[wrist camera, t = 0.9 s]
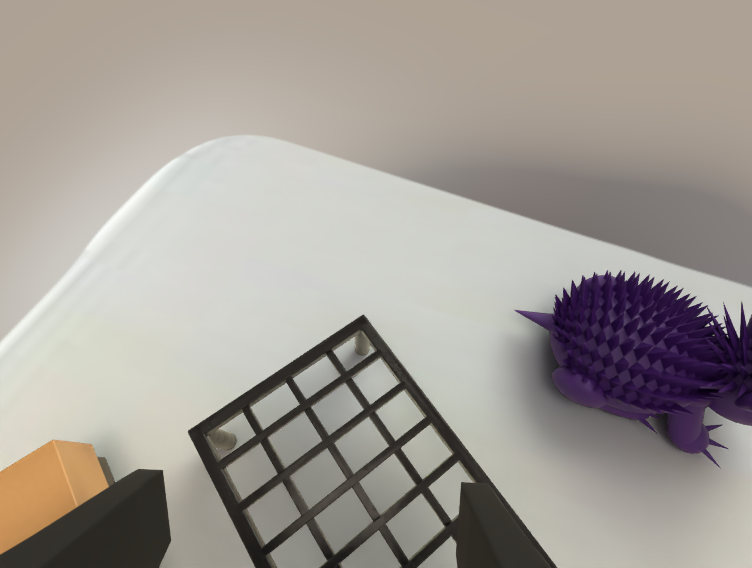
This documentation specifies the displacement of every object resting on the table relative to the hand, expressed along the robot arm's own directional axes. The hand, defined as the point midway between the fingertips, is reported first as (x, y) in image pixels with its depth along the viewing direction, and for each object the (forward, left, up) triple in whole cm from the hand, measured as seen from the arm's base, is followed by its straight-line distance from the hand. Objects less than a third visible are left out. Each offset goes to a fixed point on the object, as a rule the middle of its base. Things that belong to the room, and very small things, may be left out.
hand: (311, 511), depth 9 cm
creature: (+19, -6, -14) cm, 24 cm away
